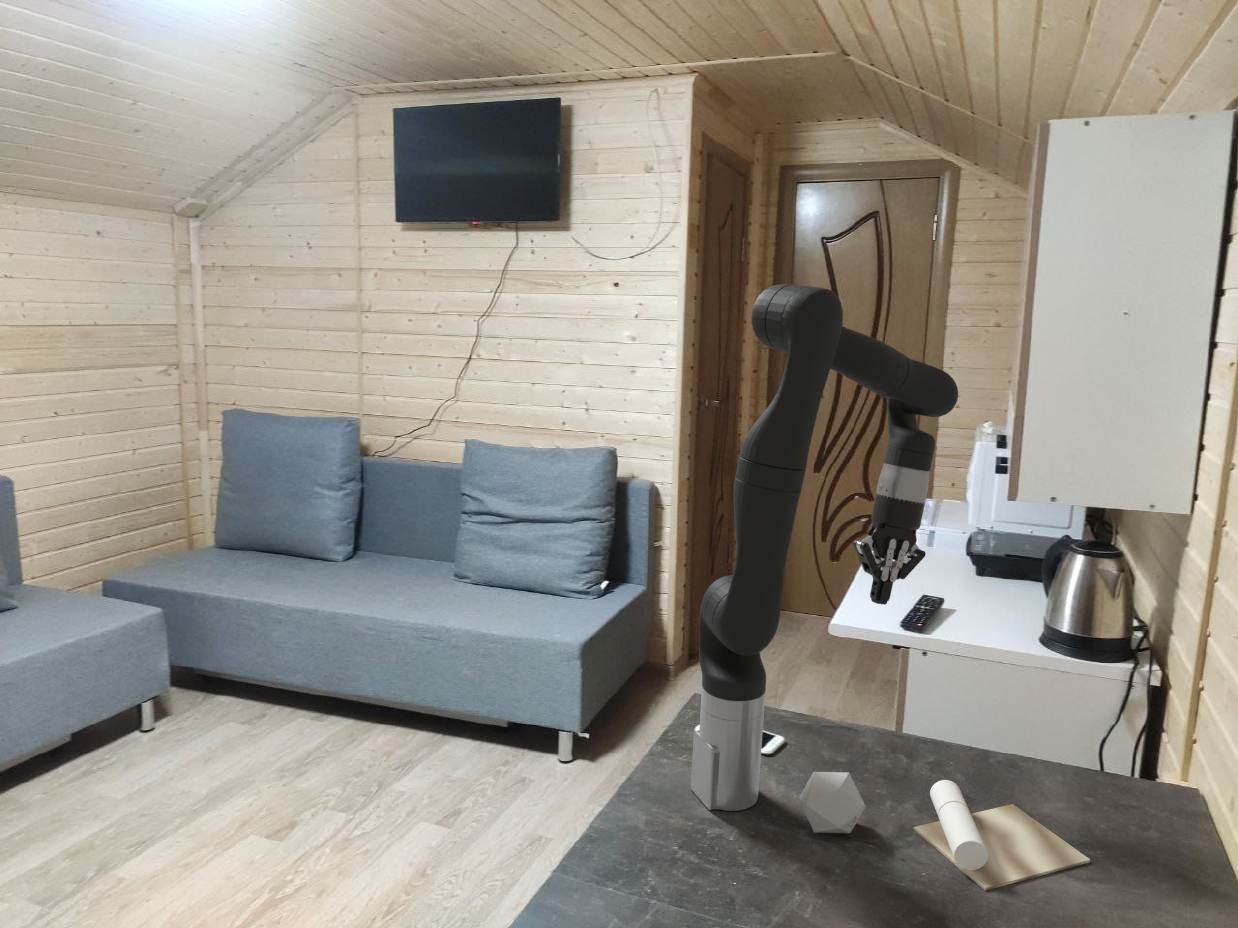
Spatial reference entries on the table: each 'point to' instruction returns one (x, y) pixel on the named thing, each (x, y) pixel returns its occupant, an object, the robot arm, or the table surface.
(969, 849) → the tube
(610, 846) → the table surface
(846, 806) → the die
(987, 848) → the birch board
